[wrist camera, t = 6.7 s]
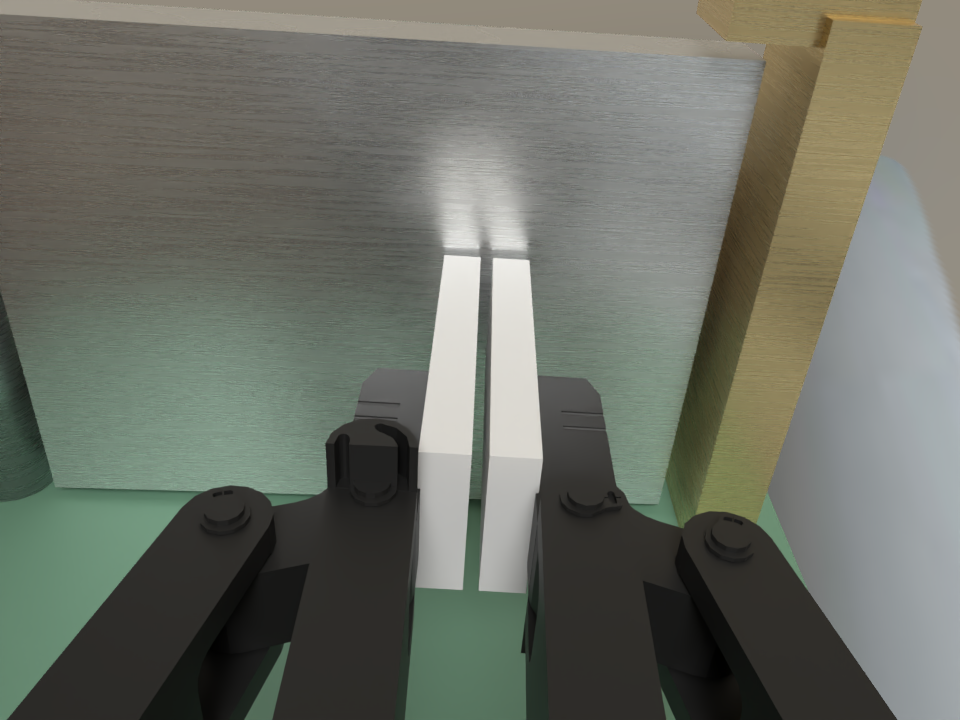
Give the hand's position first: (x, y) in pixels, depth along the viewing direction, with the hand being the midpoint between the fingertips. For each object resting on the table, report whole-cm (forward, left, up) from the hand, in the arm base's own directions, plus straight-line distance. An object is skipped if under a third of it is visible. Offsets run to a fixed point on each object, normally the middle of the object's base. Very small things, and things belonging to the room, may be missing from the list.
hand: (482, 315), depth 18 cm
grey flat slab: (-2, -1, -6) cm, 6 cm away
